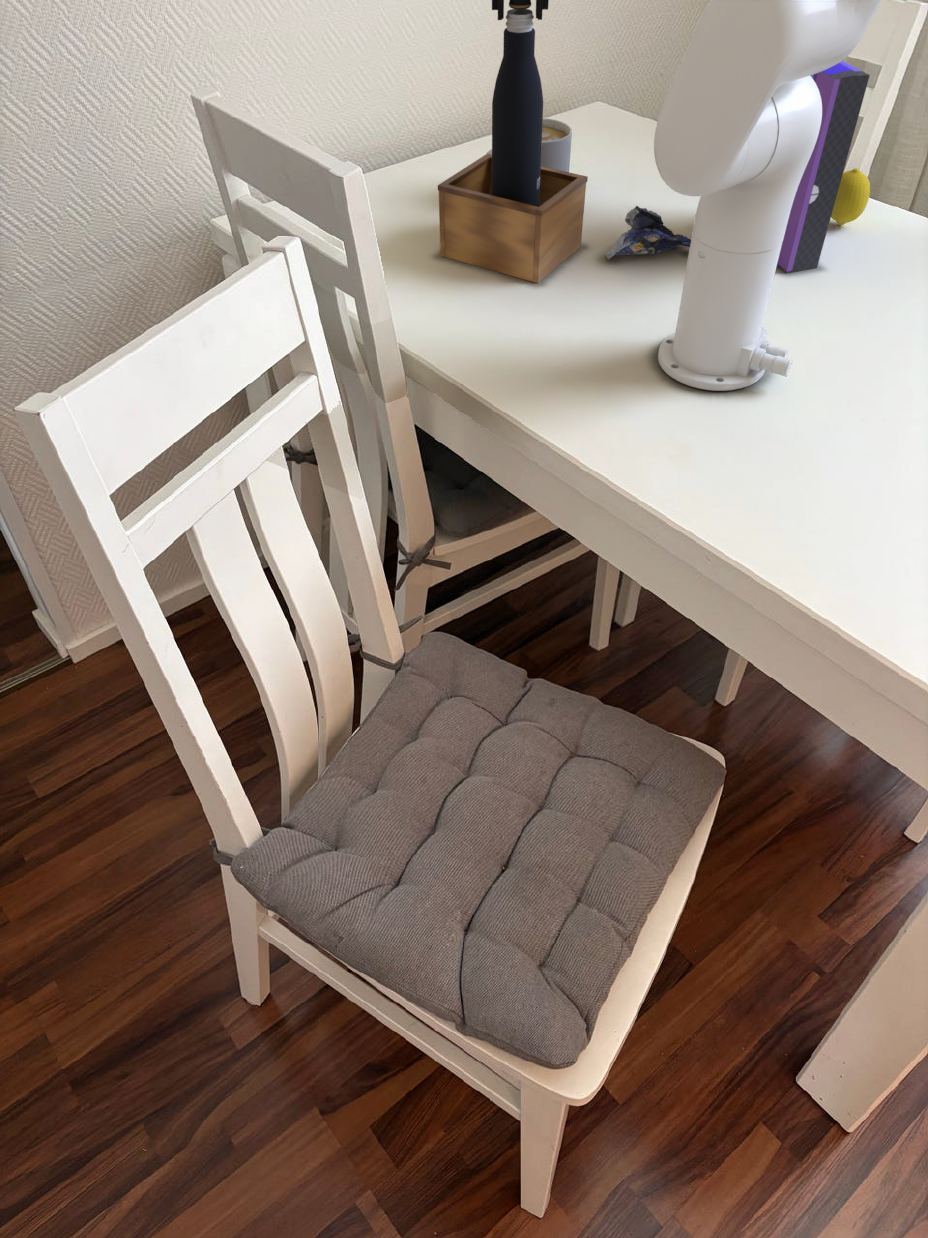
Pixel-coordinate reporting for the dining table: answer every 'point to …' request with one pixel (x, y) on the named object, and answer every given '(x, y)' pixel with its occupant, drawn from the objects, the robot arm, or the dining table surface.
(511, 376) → the dining table surface
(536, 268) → the wooden box
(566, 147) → the coffee mug
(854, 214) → the lemon
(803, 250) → the cereal box
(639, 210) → the snack package
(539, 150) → the navy water bottle
